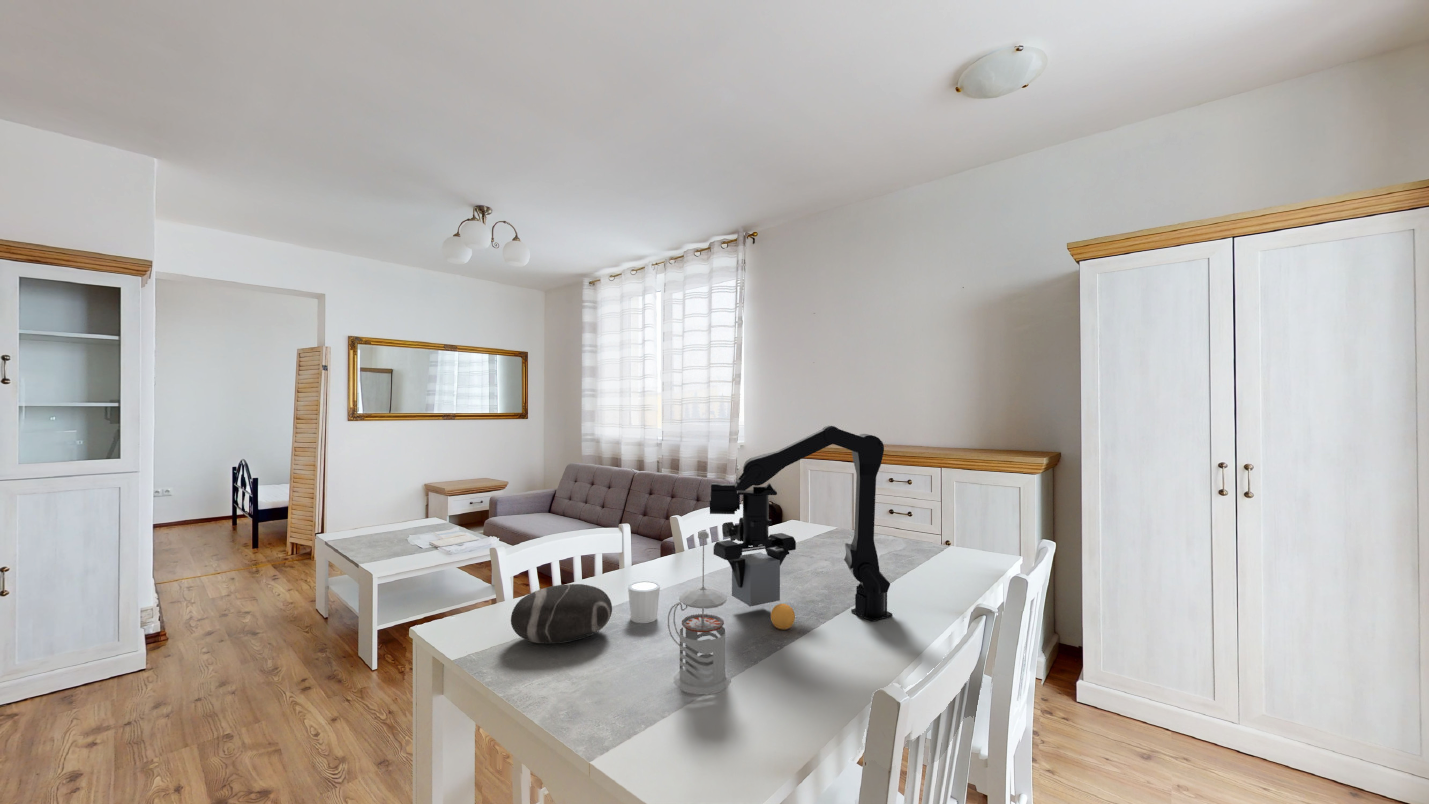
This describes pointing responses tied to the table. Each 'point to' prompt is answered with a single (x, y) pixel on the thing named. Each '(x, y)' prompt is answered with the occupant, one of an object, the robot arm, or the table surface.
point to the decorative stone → (561, 613)
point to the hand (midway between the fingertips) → (755, 584)
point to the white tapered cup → (643, 601)
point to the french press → (701, 641)
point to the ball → (782, 616)
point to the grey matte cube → (758, 580)
